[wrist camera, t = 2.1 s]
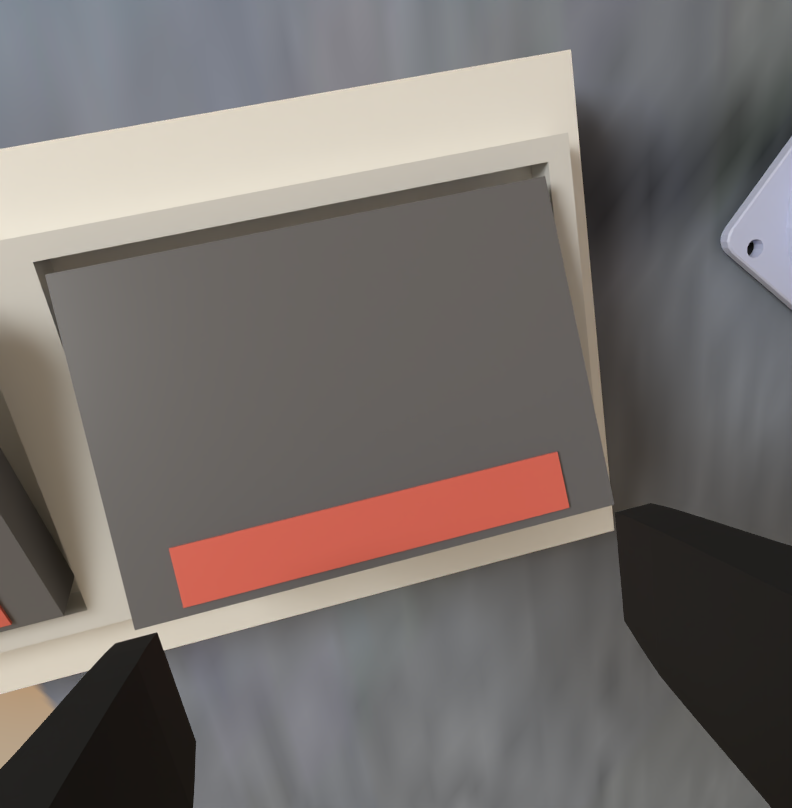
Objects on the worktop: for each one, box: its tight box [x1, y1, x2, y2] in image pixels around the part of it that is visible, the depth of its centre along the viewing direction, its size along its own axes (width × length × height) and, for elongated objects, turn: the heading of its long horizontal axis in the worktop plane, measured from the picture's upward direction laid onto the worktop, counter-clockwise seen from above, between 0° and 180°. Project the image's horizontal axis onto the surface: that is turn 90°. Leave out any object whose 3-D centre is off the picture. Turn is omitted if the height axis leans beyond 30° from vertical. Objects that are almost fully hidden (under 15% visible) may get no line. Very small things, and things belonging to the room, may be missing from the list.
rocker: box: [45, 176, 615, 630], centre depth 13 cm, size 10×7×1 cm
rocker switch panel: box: [0, 50, 614, 694], centre depth 15 cm, size 25×12×4 cm, turn 101°
